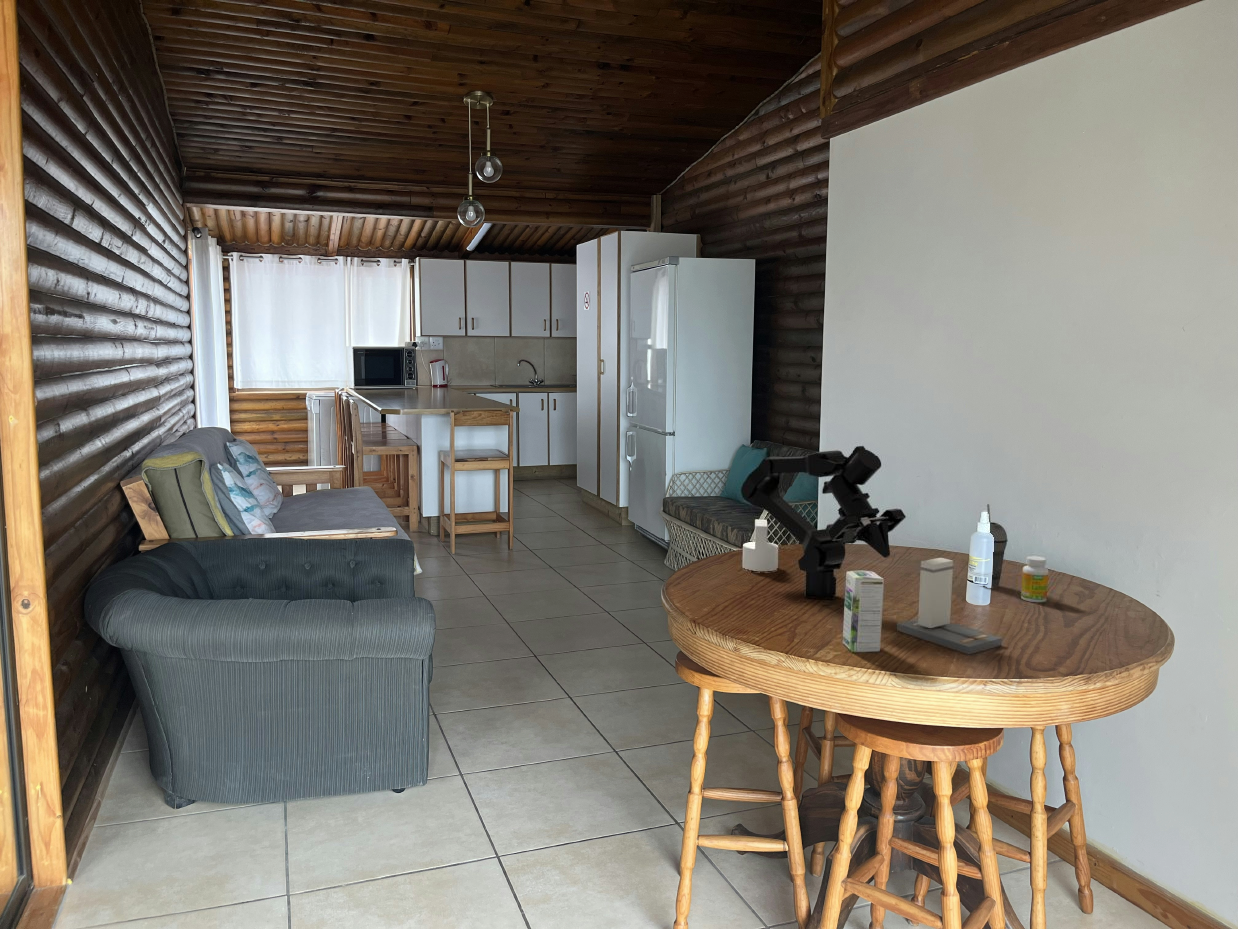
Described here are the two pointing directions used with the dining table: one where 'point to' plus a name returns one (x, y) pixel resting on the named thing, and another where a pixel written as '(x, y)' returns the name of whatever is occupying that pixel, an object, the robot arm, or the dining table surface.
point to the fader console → (952, 636)
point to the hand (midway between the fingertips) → (887, 556)
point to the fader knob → (935, 592)
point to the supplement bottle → (1034, 580)
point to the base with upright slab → (760, 550)
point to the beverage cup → (997, 549)
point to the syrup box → (863, 611)
